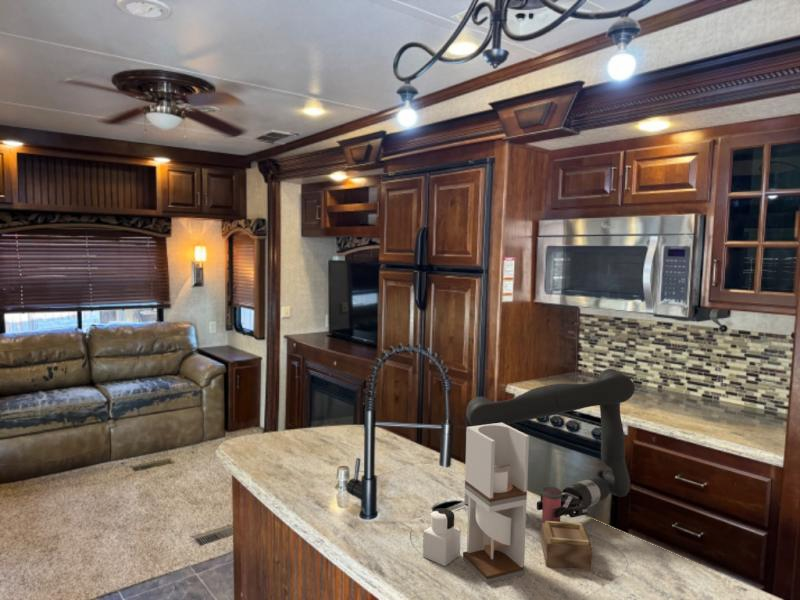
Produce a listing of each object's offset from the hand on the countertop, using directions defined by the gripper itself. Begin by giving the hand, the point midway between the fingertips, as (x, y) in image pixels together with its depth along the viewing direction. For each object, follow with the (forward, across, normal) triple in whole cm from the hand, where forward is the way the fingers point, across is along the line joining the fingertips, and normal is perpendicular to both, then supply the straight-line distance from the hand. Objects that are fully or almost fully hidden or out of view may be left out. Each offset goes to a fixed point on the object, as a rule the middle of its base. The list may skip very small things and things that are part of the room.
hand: (545, 510), depth 156 cm
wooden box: (+5, +10, +7) cm, 14 cm away
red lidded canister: (-3, 0, +7) cm, 7 cm away
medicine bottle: (+31, -9, +7) cm, 33 cm away
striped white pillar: (+24, +3, +7) cm, 25 cm away
